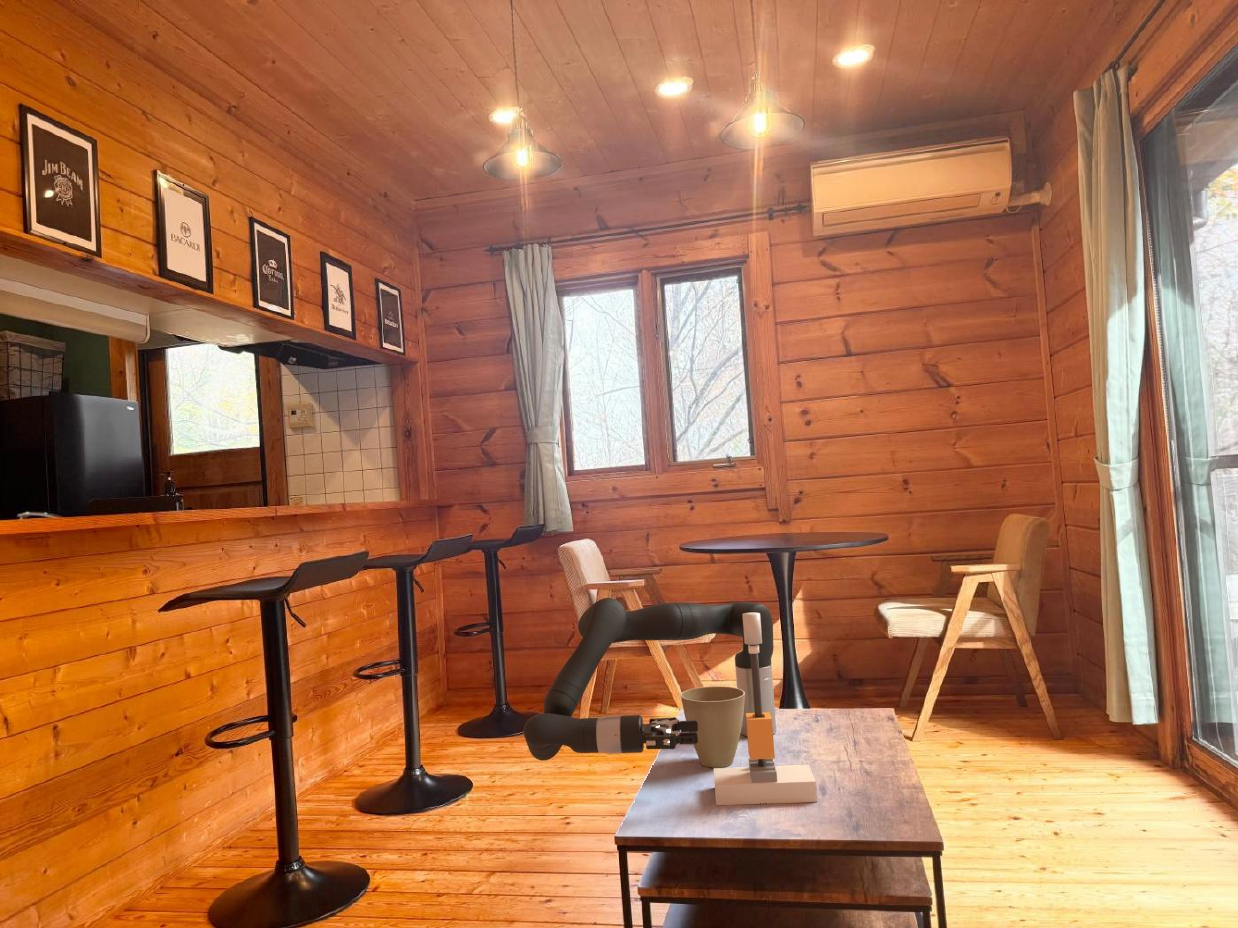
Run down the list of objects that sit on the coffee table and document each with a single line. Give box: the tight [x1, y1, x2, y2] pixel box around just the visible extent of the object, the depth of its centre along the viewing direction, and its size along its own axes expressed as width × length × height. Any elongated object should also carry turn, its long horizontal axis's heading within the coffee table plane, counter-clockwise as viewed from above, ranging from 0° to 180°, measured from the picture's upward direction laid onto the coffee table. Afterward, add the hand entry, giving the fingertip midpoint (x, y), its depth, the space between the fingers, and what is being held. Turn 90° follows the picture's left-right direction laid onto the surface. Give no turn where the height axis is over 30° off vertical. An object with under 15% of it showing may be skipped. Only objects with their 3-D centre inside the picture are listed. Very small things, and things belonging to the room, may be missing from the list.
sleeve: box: [746, 712, 776, 760], centre depth 172 cm, size 5×5×8 cm
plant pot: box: [680, 685, 745, 768], centre depth 194 cm, size 15×15×16 cm
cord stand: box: [713, 612, 818, 806], centre depth 173 cm, size 10×20×37 cm, turn 85°
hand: (697, 731), depth 174 cm, fingers open, 8 cm apart
